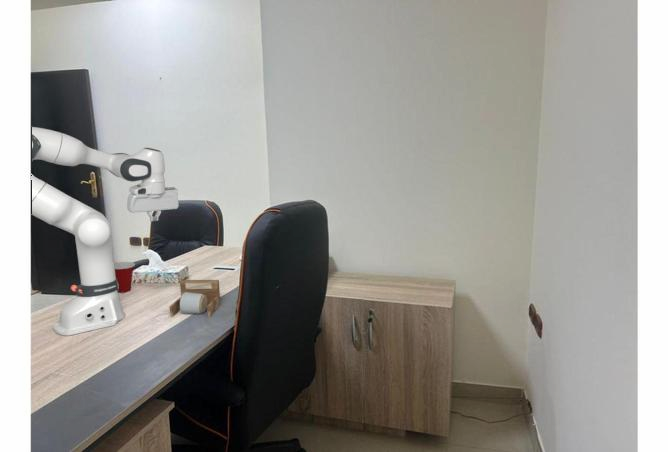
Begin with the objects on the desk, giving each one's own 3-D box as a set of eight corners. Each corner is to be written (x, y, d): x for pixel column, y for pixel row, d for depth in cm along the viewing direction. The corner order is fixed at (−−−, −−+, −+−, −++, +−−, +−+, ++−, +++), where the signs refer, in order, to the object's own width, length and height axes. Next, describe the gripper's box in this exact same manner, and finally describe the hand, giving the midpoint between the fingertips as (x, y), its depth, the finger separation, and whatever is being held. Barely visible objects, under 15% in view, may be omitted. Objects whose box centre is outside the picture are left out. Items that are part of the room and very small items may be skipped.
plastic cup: (133, 293, 190) (130, 266, 188) (106, 295, 189) (103, 268, 187) (140, 286, 201) (138, 260, 199) (115, 287, 199) (112, 261, 197)
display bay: (210, 316, 162) (208, 290, 160) (170, 317, 162) (168, 290, 161) (220, 304, 174) (218, 279, 172) (183, 304, 175) (181, 280, 173)
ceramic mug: (201, 316, 162) (200, 296, 161) (180, 316, 163) (178, 296, 162) (212, 306, 173) (211, 287, 171) (191, 306, 173) (190, 287, 172)
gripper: (174, 185, 193) (174, 216, 196) (125, 188, 179) (126, 221, 182) (181, 188, 189) (181, 220, 192) (130, 190, 175) (131, 225, 178)
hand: (154, 220), depth 187 cm, fingers closed
